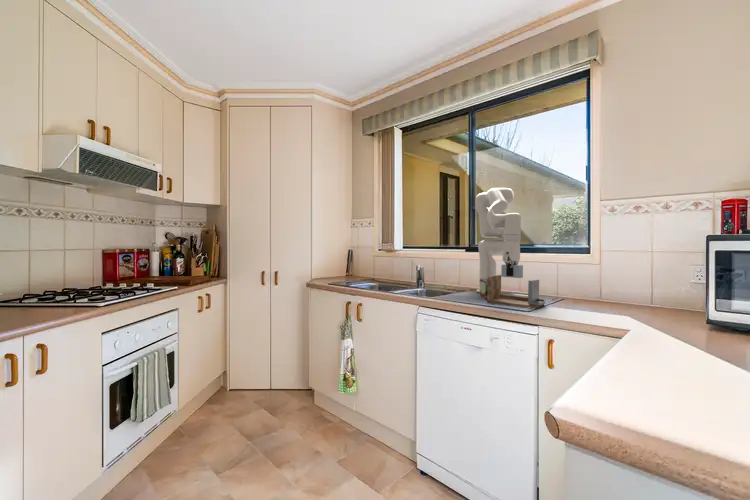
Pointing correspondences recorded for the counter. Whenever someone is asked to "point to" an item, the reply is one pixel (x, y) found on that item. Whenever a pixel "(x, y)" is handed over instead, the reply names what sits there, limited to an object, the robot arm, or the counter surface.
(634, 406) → the counter surface
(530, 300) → the bookend
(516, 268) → the grey rectangular block
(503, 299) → the rack
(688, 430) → the counter surface
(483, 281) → the food container
